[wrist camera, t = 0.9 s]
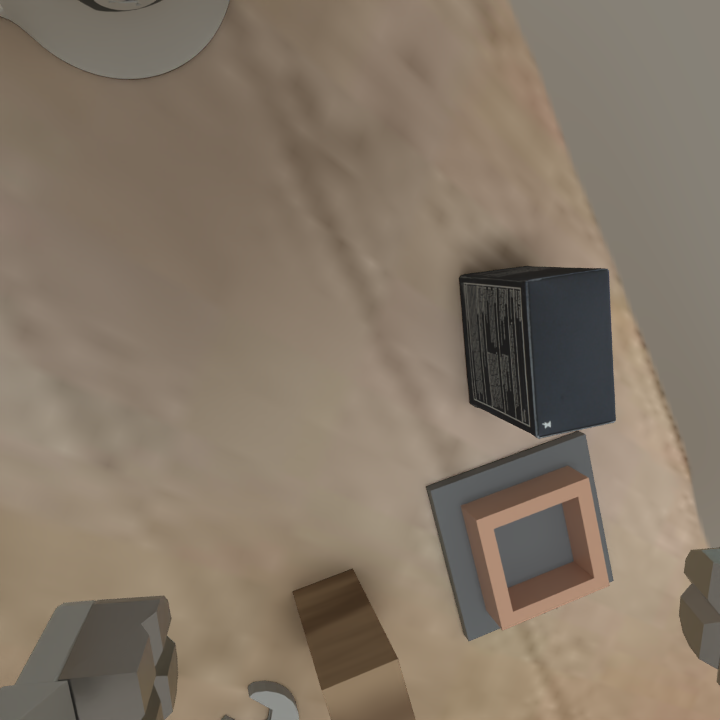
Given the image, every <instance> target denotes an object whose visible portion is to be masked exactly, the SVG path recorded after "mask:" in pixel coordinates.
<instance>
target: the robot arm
mask: <svg viewBox="0 0 720 720" xmlns="http://www.w3.org/2000/svg"><path fill="white" fill-rule="evenodd" d="M228 4H229V0H0V16H1V17H3V18H6V19H9V20H11V21H12V22H14V23H15V24H17V25H18V26H20V27H21V28H22V29H23V30H25V31H26V32H27V33H28V34H29V35H30V36H31V37H32V38H34V39H35V40H36V41H37V42H38V43H39V44H40V45H42V46H43V47H44V48H45V49H47V50H48V51H49V52H51V53H52V54H54V55H55V56H57V57H58V58H60V59H62V60H63V61H65V62H67V63H69V64H71V65H73V66H75V67H77V68H79V69H82V70H84V71H87V72H90V73H93V74H97V75H101V76H105V77H111V78H119V79H138V78H147V77H152V76H156V75H160V74H163V73H166V72H169V71H171V70H173V69H176V68H178V67H179V66H181V65H183V64H185V63H186V62H188V61H189V60H191V59H192V58H193V57H195V56H196V55H197V54H198V53H199V52H200V51H201V50H202V49H203V48H204V47H205V46H206V45H207V44H208V43H209V41H210V40H211V39H212V38H213V36H214V35H215V33H216V32H217V30H218V28H219V26H220V24H221V22H222V20H223V18H224V16H225V13H226V10H227V7H228ZM684 574H685V575H686V576H687V578H688V579H689V581H690V582H691V583H692V584H691V585H690V586H689V587H688V588H687V589H686V591H685V592H684V593H683V594H682V595H681V597H680V609H679V617H680V622H681V626H682V631H683V634H684V636H685V638H686V640H687V642H688V644H689V646H690V648H691V649H692V650H693V652H694V653H695V654H696V656H697V657H698V658H699V659H700V660H702V661H704V662H705V663H707V664H709V665H711V666H713V667H714V668H716V669H718V672H717V683H718V684H719V685H720V547H717V548H707V549H696V550H691V551H690V552H689V554H688V556H687V558H686V561H685V568H684ZM170 622H171V614H170V609H169V603H168V600H167V599H166V597H165V596H150V597H135V598H120V599H104V600H97V601H94V600H92V601H80V602H68V603H63V604H61V605H60V606H58V607H57V608H56V609H55V611H54V613H53V615H52V616H51V618H50V620H49V622H48V624H47V626H46V628H45V629H44V631H43V633H42V635H41V637H40V639H39V640H38V642H37V644H36V646H35V648H34V650H33V652H32V653H31V655H30V657H29V659H28V661H27V663H26V665H25V666H24V668H23V670H22V672H21V674H20V676H19V677H18V679H17V681H16V683H15V685H13V686H4V687H2V688H1V689H0V720H165V719H166V718H167V717H168V716H169V715H170V714H171V713H172V712H173V708H174V703H175V699H176V693H177V680H178V662H177V652H176V645H175V643H174V642H173V641H172V640H171V639H170V638H169V637H168V636H167V633H168V630H169V626H170Z"/></svg>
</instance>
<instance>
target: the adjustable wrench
mask: <svg viewBox="0 0 720 720" xmlns="http://www.w3.org/2000/svg"><path fill="white" fill-rule="evenodd" d="M248 691H249V697H250V698H252V699H254V700H255V701H257V702H259V703H261V704H263V705H264V706H266V707H268V708H270V709H269V715H268V718H267V719H266V720H299V715H298V710H297V706H296V702H295V699H294V697H293V695H292V693H291V692H290V691H289V690H288V689H287V688H285V687H284V686H283V685H280V684H278V683H275V682H270V681H258V682H253V683H251V684H250V685H249V686H248ZM222 720H234V719H232V718H231V717H229V716H227V715H225V716H224V717H223V718H222Z"/></svg>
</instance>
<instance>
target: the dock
mask: <svg viewBox="0 0 720 720" xmlns="http://www.w3.org/2000/svg"><path fill="white" fill-rule="evenodd" d="M426 488H427V492H428V496H429V500H430V503H431V507H432V511H433V515H434V519H435V523H436V527H437V531H438V535H439V539H440V542H441V546H442V550H443V554H444V558H445V562H446V566H447V570H448V574H449V578H450V581H451V585H452V589H453V593H454V597H455V601H456V605H457V609H458V613H459V617H460V620H461V624H462V628H463V632H464V635H465V637H466V638H467V639H468V641H471V640H473V639H476V638H478V637H480V636H483V635H485V634H488V633H490V632H492V631H495V630H497V629H500V628H501V629H502V630H505V629H507V628H510V627H512V626H515V625H517V624H519V623H522V622H524V621H526V620H529V619H531V618H534V617H536V616H538V615H541V614H543V613H546V612H548V611H550V610H553V609H555V608H557V607H560V606H562V605H565V604H567V603H569V602H572V601H574V600H576V599H579V598H581V597H584V596H586V595H588V594H591V593H593V592H595V591H598V590H600V589H603V588H605V587H607V586H610V585H609V582H612V581H613V576H612V571H611V565H610V560H609V555H608V550H607V545H606V539H605V534H604V529H603V524H602V519H601V513H600V508H599V503H598V498H597V492H596V487H595V482H594V477H593V472H592V466H591V461H590V456H589V451H588V446H587V440H586V435H585V434H584V433H581V432H579V431H577V432H575V433H572V434H569V435H566V436H564V437H561V438H558V439H556V440H553V441H550V442H547V443H545V444H542V445H539V446H536V447H534V448H531V449H528V450H525V451H523V452H520V453H517V454H514V455H512V456H509V457H506V458H503V459H501V460H498V461H495V462H492V463H490V464H487V465H484V466H481V467H479V468H476V469H473V470H470V471H468V472H465V473H462V474H459V475H457V476H454V477H451V478H448V479H446V480H443V481H440V482H437V483H435V484H432V485H429V486H426Z"/></svg>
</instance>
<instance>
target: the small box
mask: <svg viewBox="0 0 720 720" xmlns="http://www.w3.org/2000/svg"><path fill="white" fill-rule="evenodd" d="M459 280H460V291H461V304H462V316H463V328H464V339H465V350H466V362H467V374H468V385H469V395H470V404H472V405H473V406H474V407H477V408H481V409H483V410H485V411H487V412H489V413H491V414H493V415H495V416H497V417H499V418H501V419H503V420H505V421H507V422H509V423H511V424H513V425H515V426H517V427H519V428H521V429H523V430H525V431H527V432H529V433H531V434H532V435H534V436H535V437H536V438H538V439H541V438H544V437H549V436H553V435H558V434H562V433H567V432H571V431H576V430H582V429H586V428H591V427H595V426H600V425H604V424H609V423H613V422H615V421H616V415H615V393H614V375H613V354H612V332H611V310H610V287H609V270H608V269H601V268H596V269H595V268H594V269H593V268H561V267H532V266H524V267H516V268H508V269H500V270H493V271H486V272H478V273H471V274H464V275H461V276H460V278H459Z"/></svg>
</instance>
